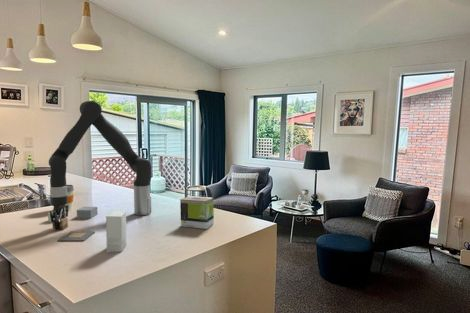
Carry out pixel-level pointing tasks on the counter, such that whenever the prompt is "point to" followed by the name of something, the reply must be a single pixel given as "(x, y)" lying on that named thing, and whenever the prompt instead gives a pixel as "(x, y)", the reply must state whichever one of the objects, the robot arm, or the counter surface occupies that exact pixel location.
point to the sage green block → (49, 217)
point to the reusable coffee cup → (69, 196)
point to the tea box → (197, 212)
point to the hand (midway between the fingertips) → (60, 227)
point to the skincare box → (116, 231)
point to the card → (77, 236)
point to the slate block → (87, 212)
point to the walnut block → (62, 223)
